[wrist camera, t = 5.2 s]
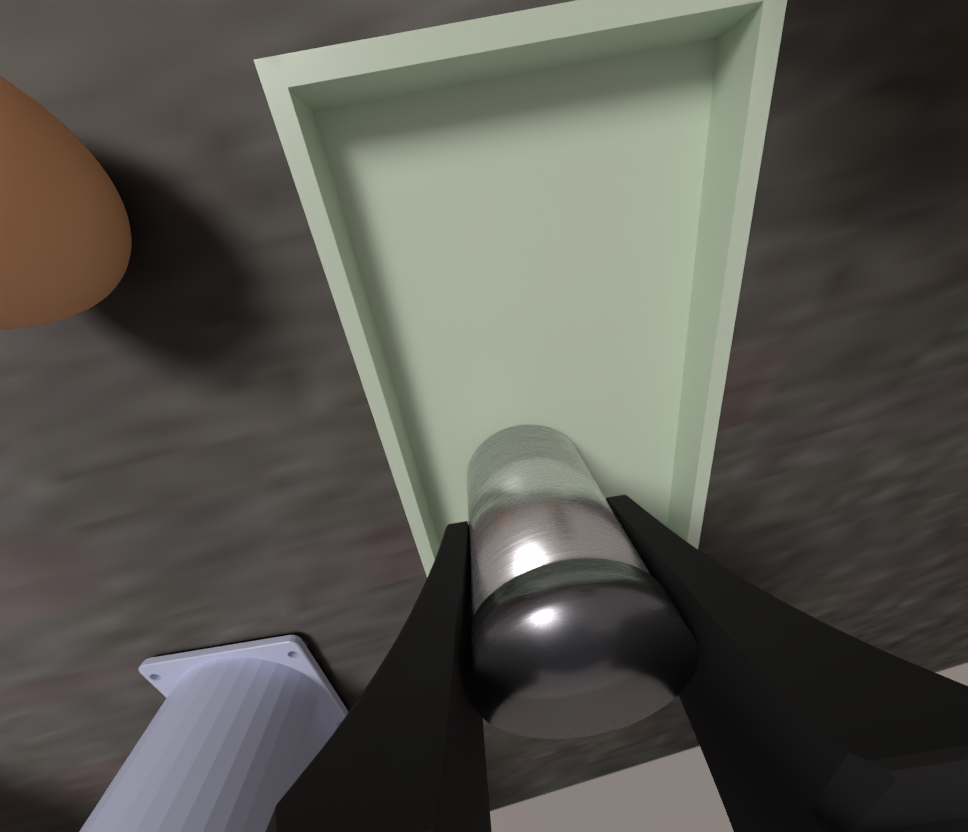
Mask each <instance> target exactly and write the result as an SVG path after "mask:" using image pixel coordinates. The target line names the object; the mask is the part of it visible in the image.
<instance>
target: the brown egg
mask: <svg viewBox="0 0 968 832" xmlns="http://www.w3.org/2000/svg"><path fill="white" fill-rule="evenodd" d="M131 243H132V238H131V229H130V224H129V220H128V216H127V213H126V210H125V207H124V204H123V202H122V200H121V198H120V196H119V193H118V191H117V189H116V188H115V186H114V184H113V183H112V181H111V179H110V178H109V176H108V175H107V173H106V172H105V171H104V169H103V168H102V166H101V165H100V164H99V162H98V161H97V160H96V158H95V157H94V156H93V155H92V154H91V152H90V151H89V150H88V149H87V148H86V147H85V145H84V144H83V143H82V142H81V141H80V140H79V139H78V138H77V137H76V136H75V135H74V134H73V133H72V132H71V131H70V130H69V129H68V128H67V127H66V126H65V125H64V124H62V123H61V122H60V121H59V120H58V119H57V118H56V117H55V116H53V115H52V114H51V113H50V112H49V111H47V110H46V109H45V108H44V107H43V106H42V105H40V104H39V103H38V102H36V101H35V100H33V99H32V98H31V97H29V96H28V95H26V94H25V93H24V92H22V91H21V90H19V89H18V88H17V87H15V86H14V85H12V84H11V83H10V82H8V81H7V80H5V79H4V78H2V77H0V329H13V328H23V327H31V326H40V325H44V324H48V323H52V322H56V321H60V320H64V319H67V318H70V317H72V316H74V315H77V314H79V313H81V312H83V311H86V310H88V309H90V308H91V307H93V306H94V305H96V304H97V303H99V302H100V301H102V300H103V299H104V298H106V297H107V296H108V295H109V294H110V293H111V292H112V291H113V290H114V289H115V287H116V286H117V285H118V284H119V282H120V281H121V279H122V277H123V276H124V274H125V271H126V269H127V266H128V263H129V259H130V254H131Z"/></svg>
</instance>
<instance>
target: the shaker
mask: <svg viewBox="0 0 968 832" xmlns="http://www.w3.org/2000/svg"><path fill="white" fill-rule="evenodd" d="M467 500H468V527H469V555H470V582H471V610H472V621H471V623H470V626H469V632H468V658H469V693H470V698H471V702H472V704H473V706H474V708H475V710H476V711H477V712H478V713H479V714H480V716H481V717H482V718H484V719H485V720H486V721H487V722H489V723H490V724H492V725H494V726H495V727H497V728H499V729H502V730H504V731H506V732H510V733H513V734H516V735H521V736H525V737H532V738H540V739H569V738H579V737H586V736H592V735H597V734H601V733H605V732H609V731H613V730H616V729H619V728H622V727H625V726H628V725H630V724H633V723H635V722H637V721H639V720H642V719H644V718H646V717H647V716H649V715H651V714H653V713H655V712H656V711H658V710H660V709H661V708H663V707H664V706H665V705H667V704H668V703H669V702H671V701H672V700H673V699H674V698H675V697H677V696H678V695H679V694H680V693H681V692H682V691H683V689H684V688H685V687H686V686H687V685H688V683H689V682H690V680H691V679H692V677H693V675H694V673H695V671H696V668H697V664H698V657H699V651H698V647H697V643H696V641H695V639H694V637H693V635H692V633H691V632H690V630H689V628H688V627H687V625H686V623H685V622H684V620H683V619H682V617H681V615H680V614H679V612H678V610H677V609H676V607H675V605H674V604H673V602H672V600H671V599H670V597H669V596H668V594H667V592H666V591H665V589H664V587H663V586H662V585H661V584H660V583H659V581H658V580H656V579H655V578H654V577H653V576H652V575H650V573H649V571H648V570H647V568H646V566H645V565H644V563H643V561H642V559H641V558H640V556H639V554H638V553H637V551H636V549H635V548H634V546H633V544H632V543H631V541H630V539H629V537H628V536H627V534H626V532H625V531H624V529H623V527H622V526H621V524H620V522H619V521H618V519H617V517H616V516H615V514H614V512H613V510H612V509H611V507H610V505H609V504H608V502H607V500H606V499H605V497H604V495H603V494H602V492H601V490H600V488H599V487H598V485H597V483H596V482H595V480H594V478H593V477H592V475H591V473H590V472H589V470H588V468H587V466H586V465H585V463H584V461H583V460H582V458H581V456H580V455H579V453H578V451H577V450H576V448H575V446H574V445H573V444H572V442H571V441H570V440H569V439H568V438H567V437H566V436H564V435H563V434H561V433H560V432H558V431H556V430H554V429H552V428H549V427H546V426H541V425H532V424H529V425H518V426H513V427H509V428H506V429H503V430H501V431H499V432H497V433H495V434H493V435H492V436H490V437H489V438H487V439H486V440H485V441H484V442H483V443H482V444H481V445H480V446H479V447H478V448H477V449H476V451H475V452H474V454H473V455H472V457H471V459H470V462H469V465H468V468H467Z"/></svg>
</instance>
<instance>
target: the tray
mask: <svg viewBox="0 0 968 832" xmlns="http://www.w3.org/2000/svg"><path fill="white" fill-rule="evenodd" d="M786 5H787V0H577V1H572V2H566V3H561V4H555V5H550V6H544V7H539V8H533V9H528V10H522V11H517V12H511V13H506V14H501V15H495V16H490V17H484V18H479V19H473V20H468V21H462V22H457V23H451V24H446V25H441V26H435V27H430V28H424V29H419V30H413V31H408V32H402V33H397V34H391V35H386V36H380V37H375V38H370V39H364V40H359V41H353V42H348V43H342V44H337V45H331V46H326V47H320V48H315V49H309V50H304V51H299V52H293V53H288V54H282V55H277V56H271V57H266V58H260V59H255V60H254V63H255V66H256V69H257V72H258V74H259V77H260V80H261V83H262V86H263V89H264V92H265V95H266V98H267V101H268V104H269V107H270V110H271V113H272V116H273V119H274V122H275V125H276V128H277V131H278V134H279V137H280V140H281V143H282V146H283V149H284V152H285V155H286V158H287V161H288V164H289V167H290V170H291V173H292V176H293V179H294V182H295V185H296V188H297V191H298V194H299V197H300V200H301V203H302V206H303V209H304V212H305V215H306V218H307V221H308V224H309V227H310V230H311V233H312V236H313V239H314V242H315V244H316V247H317V250H318V253H319V256H320V259H321V262H322V265H323V268H324V271H325V274H326V277H327V280H328V283H329V286H330V289H331V292H332V295H333V298H334V301H335V304H336V307H337V310H338V313H339V316H340V319H341V322H342V325H343V328H344V331H345V334H346V337H347V340H348V343H349V346H350V349H351V352H352V355H353V358H354V361H355V364H356V367H357V370H358V373H359V376H360V379H361V382H362V385H363V388H364V391H365V394H366V397H367V400H368V403H369V406H370V409H371V411H372V414H373V417H374V420H375V423H376V426H377V429H378V432H379V435H380V438H381V441H382V444H383V447H384V450H385V453H386V456H387V459H388V462H389V465H390V468H391V471H392V474H393V477H394V480H395V483H396V486H397V489H398V492H399V495H400V498H401V501H402V504H403V507H404V510H405V513H406V516H407V519H408V522H409V525H410V528H411V531H412V534H413V537H414V540H415V543H416V546H417V549H418V552H419V555H420V558H421V561H422V564H423V567H424V570H425V573H426V576H427V577H428V575H429V573H430V570H431V568H432V566H433V563H434V561H435V558H436V556H437V553H438V550H439V547H440V545H441V542H442V539H443V535H444V532H445V528H446V527H447V525H448V524H452V523H458V522H464V521H468V500H467V468H468V465H469V462H470V459H471V457H472V455H473V454H474V452H475V451H476V449H477V448H478V447H479V446H480V445H481V444H482V443H483V442H484V441H485V440H486V439H487V438H489V437H490V436H492V435H493V434H495V433H497V432H499V431H501V430H503V429H506V428H509V427H513V426H518V425H529V424H532V425H541V426H546V427H549V428H552V429H554V430H556V431H558V432H560V433H561V434H563V435H564V436H566V437H567V438H568V439H569V440H570V441H571V442H572V444H573V445H574V446H575V448H576V450H577V451H578V453H579V455H580V456H581V458H582V460H583V461H584V463H585V465H586V466H587V468H588V470H589V472H590V473H591V475H592V477H593V478H594V480H595V482H596V483H597V485H598V487H599V488H600V490H601V492H602V494H603V495H604V497H605V499H606V498H607V497H613V496H619V495H627V496H628V497H629V498H631V499H632V500H633V501H634V502H636V503H637V504H638V505H639V506H641V507H642V508H643V509H644V510H646V511H647V512H648V513H650V514H651V515H652V516H653V517H655V518H656V519H657V520H658V521H660V522H661V523H662V524H664V525H665V526H666V527H668V528H669V529H670V530H672V531H673V532H674V533H676V534H677V535H678V536H680V537H681V538H682V539H684V540H685V541H687V542H688V543H689V544H691V545H692V546H693V547H695V548H696V549H698V547H699V540H700V534H701V528H702V522H703V516H704V510H705V503H706V497H707V491H708V485H709V479H710V473H711V466H712V460H713V454H714V448H715V442H716V436H717V430H718V423H719V417H720V411H721V405H722V399H723V393H724V386H725V380H726V374H727V368H728V362H729V356H730V350H731V343H732V337H733V331H734V325H735V319H736V313H737V306H738V300H739V294H740V288H741V282H742V276H743V269H744V263H745V257H746V251H747V245H748V239H749V233H750V226H751V220H752V214H753V208H754V202H755V196H756V189H757V183H758V177H759V171H760V165H761V159H762V152H763V146H764V140H765V134H766V128H767V122H768V116H769V109H770V103H771V97H772V91H773V85H774V79H775V72H776V66H777V60H778V54H779V48H780V42H781V35H782V29H783V23H784V17H785V11H786Z"/></svg>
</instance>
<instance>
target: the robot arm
mask: <svg viewBox="0 0 968 832" xmlns="http://www.w3.org/2000/svg"><path fill="white" fill-rule="evenodd" d="M606 500H607V502H608V504H609V505H610V507H611V509H612V510H613V512H614V514H615V516H616V517H617V519H618V521H619V522H620V524H621V526H622V527H623V529H624V531H625V532H626V534H627V536H628V537H629V539H630V541H631V543H632V544H633V546H634V548H635V549H636V551H637V553H638V554H639V556H640V558H641V559H642V561H643V563H644V565H645V566H646V568H647V570H648V571H649V573H650V575H652V576H653V577H654V578H655V579H656V580H658V581H659V583H660V584H661V585H662V586H663V587H664V589H665V591H666V592H667V594H668V596H669V597H670V599H671V600H672V602H673V604H674V605H675V607H676V609H677V610H678V612H679V614H680V615H681V617H682V619H683V620H684V622H685V623H686V625H687V627H688V628H689V630H690V632H691V633H692V635H693V637H694V639H695V641H696V643H697V647H698V651H699V657H698V664H697V668H696V671H695V673H694V675H693V677H692V679H691V680H690V682H689V683H688V685H687V686H686V687H685V688H684V689H683V691H682V692H681V693H680V694H679V697H680V699H681V702H682V704H683V706H684V709H685V711H686V713H687V716H688V718H689V721H690V723H691V725H692V728H693V730H694V732H695V735H696V737H697V740H698V742H699V744H700V747H701V749H702V752H703V754H704V757H705V759H706V762H707V764H708V767H709V769H710V772H711V774H712V777H713V779H714V782H715V784H716V786H717V789H718V792H719V794H720V797H721V799H722V802H723V804H724V807H725V809H726V812H727V815H728V817H729V820H730V822H731V825H732V828H733V830H734V832H968V686H966V685H963V684H961V683H958V682H956V681H953V680H951V679H949V678H946V677H944V676H942V675H939V674H937V673H934V672H932V671H930V670H927V669H925V668H922V667H920V666H917V665H915V664H913V663H910V662H908V661H905V660H903V659H901V658H898V657H896V656H894V655H891V654H889V653H887V652H885V651H883V650H880V649H878V648H876V647H874V646H872V645H870V644H867V643H865V642H863V641H861V640H859V639H856V638H854V637H852V636H850V635H848V634H846V633H844V632H842V631H839V630H837V629H835V628H833V627H831V626H829V625H827V624H825V623H823V622H821V621H819V620H817V619H815V618H813V617H811V616H809V615H807V614H806V613H804V612H802V611H800V610H798V609H796V608H794V607H792V606H790V605H788V604H786V603H784V602H783V601H781V600H779V599H777V598H775V597H773V596H772V595H770V594H768V593H766V592H765V591H763V590H761V589H759V588H758V587H756V586H754V585H753V584H751V583H749V582H748V581H746V580H744V579H742V578H741V577H739V576H737V575H736V574H734V573H733V572H731V571H729V570H728V569H726V568H725V567H723V566H721V565H720V564H718V563H717V562H715V561H714V560H712V559H711V558H709V557H708V556H706V555H705V554H703V553H702V552H701V551H699V550H698V549H696V548H695V547H693V546H692V545H691V544H689V543H688V542H687V541H685V540H684V539H682V538H681V537H680V536H678V535H677V534H676V533H674V532H673V531H672V530H670V529H669V528H668V527H666V526H665V525H664V524H662V523H661V522H660V521H658V520H657V519H656V518H655V517H653V516H652V515H651V514H650V513H648V512H647V511H646V510H644V509H643V508H642V507H641V506H639V505H638V504H637V503H636V502H634V501H633V500H632V499H631V498H629V497H628V496H627V495H619V496H613V497H607V498H606ZM471 621H472V610H471V582H470V555H469V527H468V521H464V522H458V523H452V524H448V525H447V527H446V528H445V532H444V535H443V539H442V542H441V545H440V547H439V550H438V553H437V556H436V558H435V561H434V563H433V566H432V568H431V570H430V573H429V575H428V577H427V580H426V582H425V584H424V587H423V589H422V591H421V593H420V595H419V597H418V599H417V601H416V603H415V605H414V607H413V609H412V611H411V614H410V615H409V617H408V619H407V621H406V623H405V625H404V627H403V628H402V630H401V632H400V634H399V636H398V637H397V639H396V641H395V643H394V644H393V646H392V648H391V649H390V651H389V653H388V654H387V656H386V658H385V659H384V661H383V662H382V664H381V665H380V667H379V669H378V670H377V672H376V673H375V675H374V677H373V678H372V680H371V681H370V683H369V684H368V686H367V687H366V689H365V690H364V692H363V693H362V694H361V696H360V697H359V699H358V700H357V701H356V703H355V704H354V706H353V707H352V708H351V710H350V711H349V712H348V710H347V709H346V707H345V705H344V704H343V702H342V701H341V699H340V698H339V696H338V695H337V693H336V691H335V690H334V688H333V687H332V685H331V684H330V682H329V681H328V679H327V677H326V676H325V674H324V673H323V671H322V670H321V668H320V667H319V665H318V664H317V662H316V660H315V659H314V657H313V656H312V654H311V653H310V651H309V650H308V648H307V646H306V645H305V643H304V642H303V640H302V639H301V638H300V637H299V636H297V635H285V636H279V637H273V638H267V639H261V640H255V641H249V642H243V643H237V644H231V645H224V646H218V647H212V648H206V649H200V650H194V651H188V652H182V653H176V654H170V655H164V656H158V657H152V658H148V659H146V660H145V661H144V662H143V663H142V664H141V666H140V667H139V672H140V673H141V674H142V675H143V676H144V677H145V678H146V679H147V680H148V681H149V682H150V683H151V684H153V685H154V686H155V687H156V688H157V689H158V690H159V691H160V692H161V693H162V694H163V695H164V696H165V697H166V700H165V701H164V703H163V704H162V706H161V707H160V709H159V711H158V712H157V714H156V715H155V717H154V718H153V720H152V721H151V723H150V724H149V726H148V727H147V729H146V730H145V732H144V733H143V735H142V736H141V738H140V740H139V741H138V743H137V744H136V746H135V747H134V749H133V750H132V752H131V753H130V755H129V756H128V758H127V759H126V761H125V762H124V764H123V766H122V767H121V769H120V770H119V772H118V773H117V775H116V776H115V778H114V779H113V781H112V782H111V784H110V785H109V787H108V788H107V790H106V792H105V793H104V795H103V796H102V798H101V799H100V801H99V802H98V804H97V805H96V807H95V808H94V810H93V811H92V813H91V814H90V816H89V818H88V819H87V821H86V822H85V824H84V825H83V827H82V828H81V830H80V831H79V832H491V821H490V809H489V797H488V785H487V772H486V759H485V746H484V733H483V719H482V717H481V716H480V714H479V713H478V712H477V711H476V710H475V708H474V706H473V704H472V702H471V698H470V693H469V658H468V632H469V626H470V623H471Z"/></svg>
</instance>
